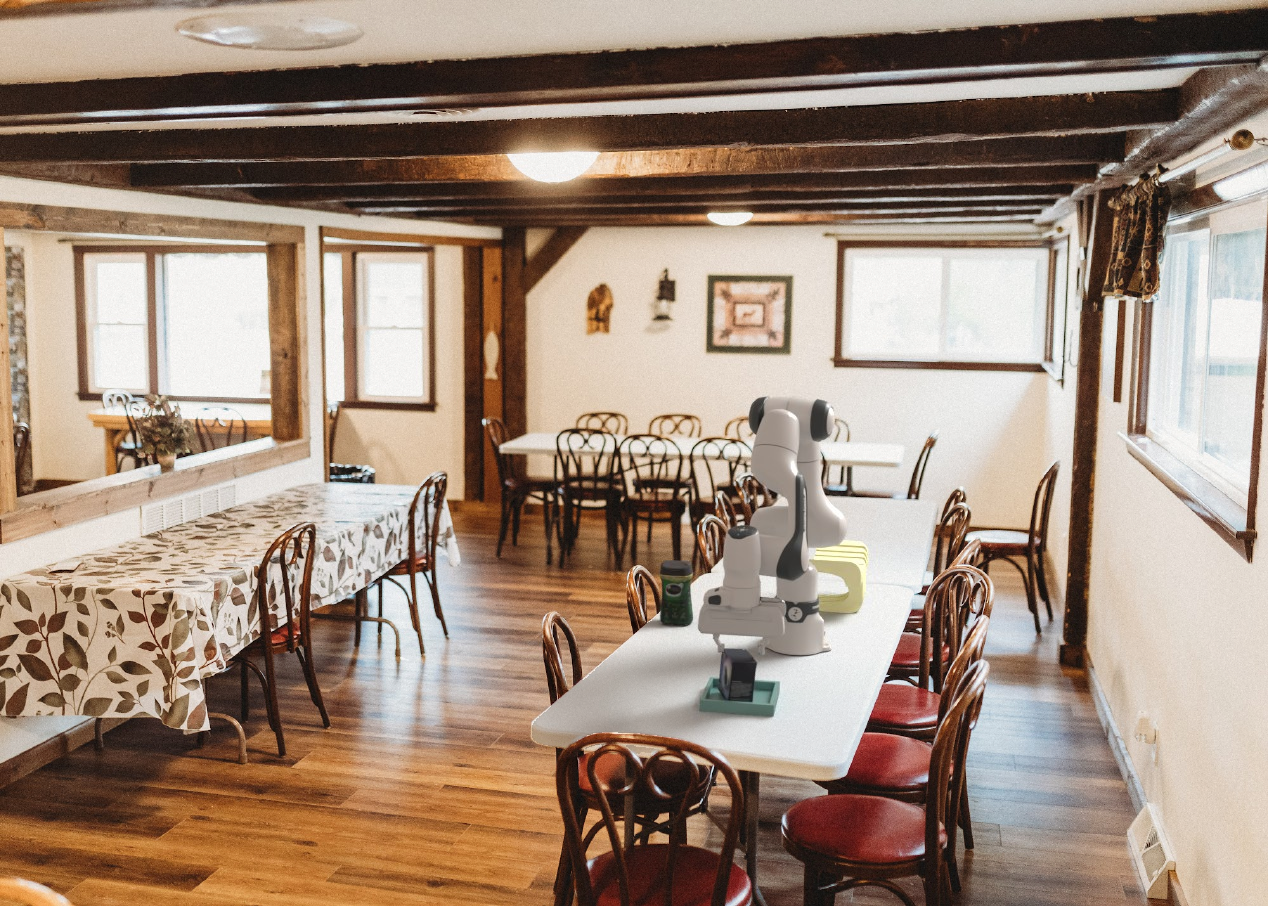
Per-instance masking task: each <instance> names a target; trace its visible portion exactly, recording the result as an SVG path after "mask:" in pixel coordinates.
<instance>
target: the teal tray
mask: <svg viewBox="0 0 1268 906" xmlns="http://www.w3.org/2000/svg"><path fill="white" fill-rule="evenodd" d="M718 683H719V676H718V677H717V676H710V677H709V678H708V681H707V682H706V685H705V687H704V689H703V691H702V694H701V697H700V698H699V712H706V713H707V712H710V713H721V714H722V713H723V714H734V715H736V714H737V715H748V716H749V715H750V716H764V717H774V716H775V712H776V708H777V705H778V704H777V703H778V701H779V696H780V692H781V689H780V688H781V687H780V686H781V684H780V683H781V681H778V680H776V681H775V680H764V679H763V680H762V679H760V680H759V679H755V683H754V693H753V702H740V701H726V700H725V699H724V697H723V696H722V694H721V693H720V691H719V690H718Z"/></svg>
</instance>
